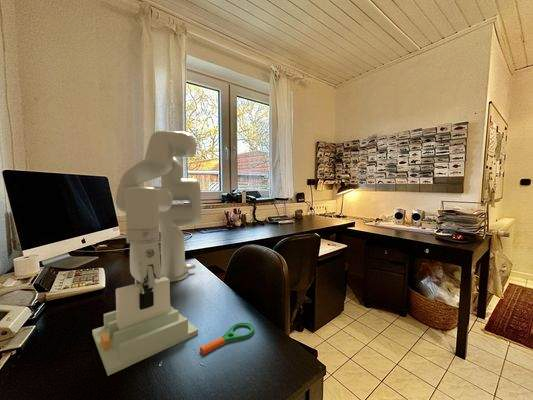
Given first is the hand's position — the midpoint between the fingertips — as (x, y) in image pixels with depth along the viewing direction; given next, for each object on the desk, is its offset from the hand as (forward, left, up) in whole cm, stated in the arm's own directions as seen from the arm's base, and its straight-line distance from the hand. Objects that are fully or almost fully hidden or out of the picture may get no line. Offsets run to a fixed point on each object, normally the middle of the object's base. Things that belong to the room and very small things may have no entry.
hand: (144, 304), depth 61 cm
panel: (0, 0, -4) cm, 4 cm away
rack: (0, 0, -8) cm, 8 cm away
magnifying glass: (-15, +17, -9) cm, 24 cm away
